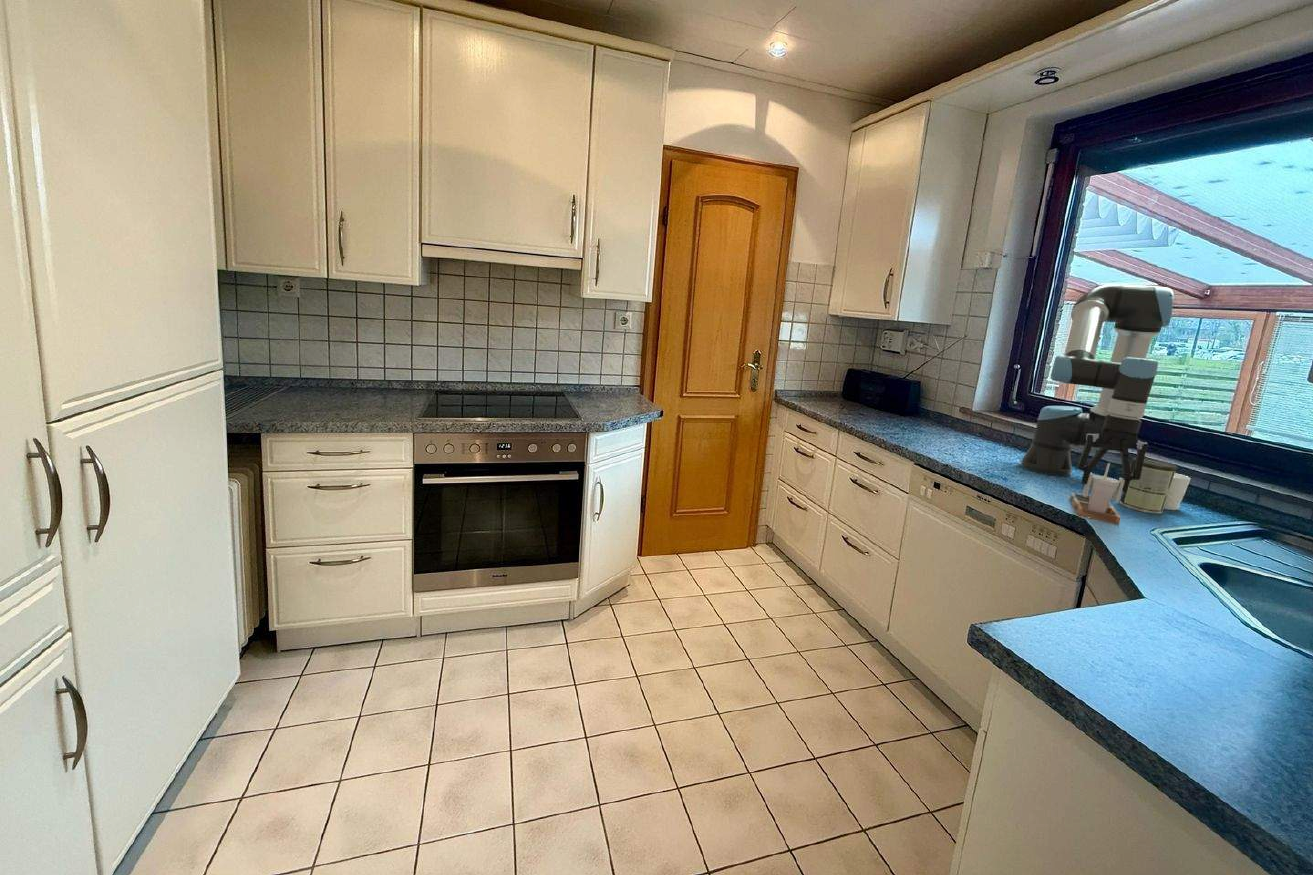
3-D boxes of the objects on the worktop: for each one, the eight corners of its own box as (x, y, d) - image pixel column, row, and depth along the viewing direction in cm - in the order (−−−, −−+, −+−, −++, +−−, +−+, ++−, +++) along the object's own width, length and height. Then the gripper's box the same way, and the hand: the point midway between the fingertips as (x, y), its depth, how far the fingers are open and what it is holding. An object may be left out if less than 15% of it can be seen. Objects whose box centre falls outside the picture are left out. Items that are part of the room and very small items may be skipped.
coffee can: (1110, 499, 178) (1124, 455, 174) (1146, 503, 177) (1160, 459, 174) (1134, 511, 168) (1148, 464, 164) (1171, 515, 167) (1187, 469, 164)
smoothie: (1076, 508, 162) (1090, 460, 158) (1091, 507, 164) (1105, 459, 161) (1100, 517, 156) (1115, 467, 153) (1115, 515, 158) (1130, 466, 155)
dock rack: (1069, 498, 174) (1070, 492, 173) (1106, 506, 170) (1108, 500, 169) (1077, 515, 158) (1079, 508, 158) (1118, 524, 154) (1121, 517, 154)
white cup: (1186, 510, 174) (1196, 478, 172) (1170, 511, 171) (1180, 479, 169) (1156, 501, 181) (1166, 470, 179) (1140, 502, 178) (1150, 471, 176)
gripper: (1082, 411, 155) (1059, 493, 160) (1174, 425, 146) (1147, 511, 152) (1078, 408, 161) (1056, 487, 167) (1166, 421, 153) (1140, 503, 158)
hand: (1099, 498), depth 159 cm, fingers closed on smoothie, 6 cm apart
